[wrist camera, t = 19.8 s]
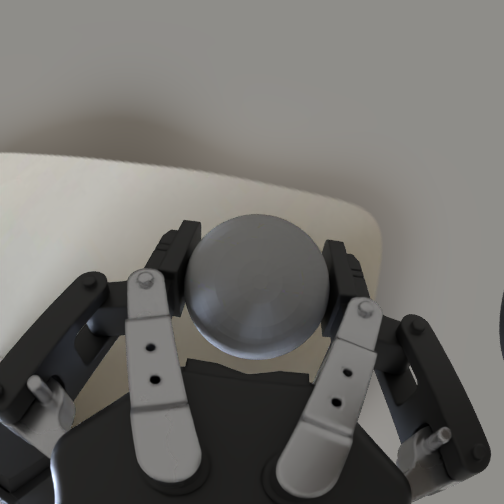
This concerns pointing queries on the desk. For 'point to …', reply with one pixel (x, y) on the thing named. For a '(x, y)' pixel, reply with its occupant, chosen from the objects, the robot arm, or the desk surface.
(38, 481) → the dark grey drawer box
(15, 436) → the dark grey drawer
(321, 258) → the light bulb
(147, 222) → the desk surface
